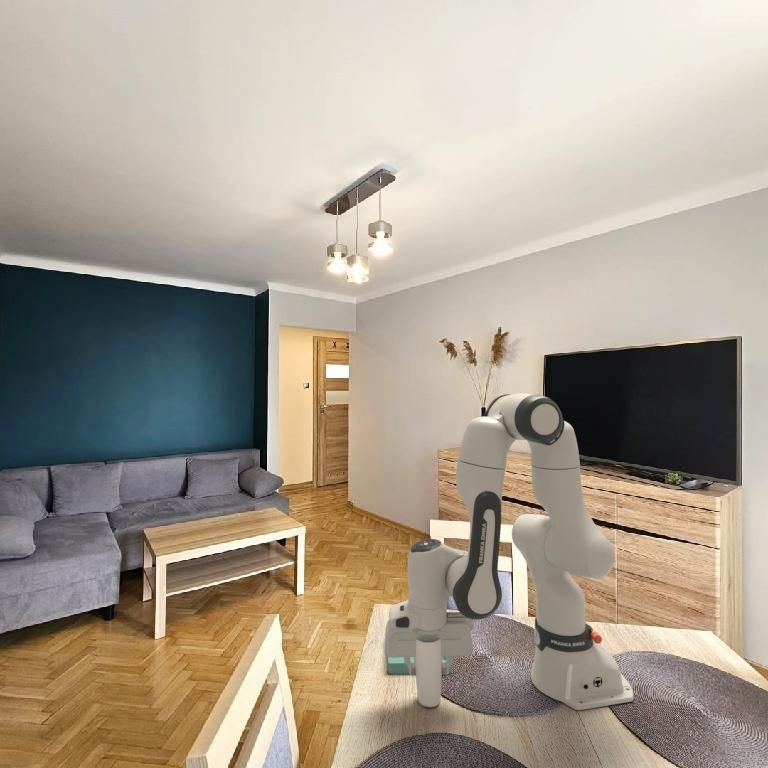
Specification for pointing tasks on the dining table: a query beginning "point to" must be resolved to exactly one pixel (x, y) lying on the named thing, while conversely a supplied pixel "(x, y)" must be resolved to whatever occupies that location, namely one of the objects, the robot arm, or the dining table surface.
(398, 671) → the tray
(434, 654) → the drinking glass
